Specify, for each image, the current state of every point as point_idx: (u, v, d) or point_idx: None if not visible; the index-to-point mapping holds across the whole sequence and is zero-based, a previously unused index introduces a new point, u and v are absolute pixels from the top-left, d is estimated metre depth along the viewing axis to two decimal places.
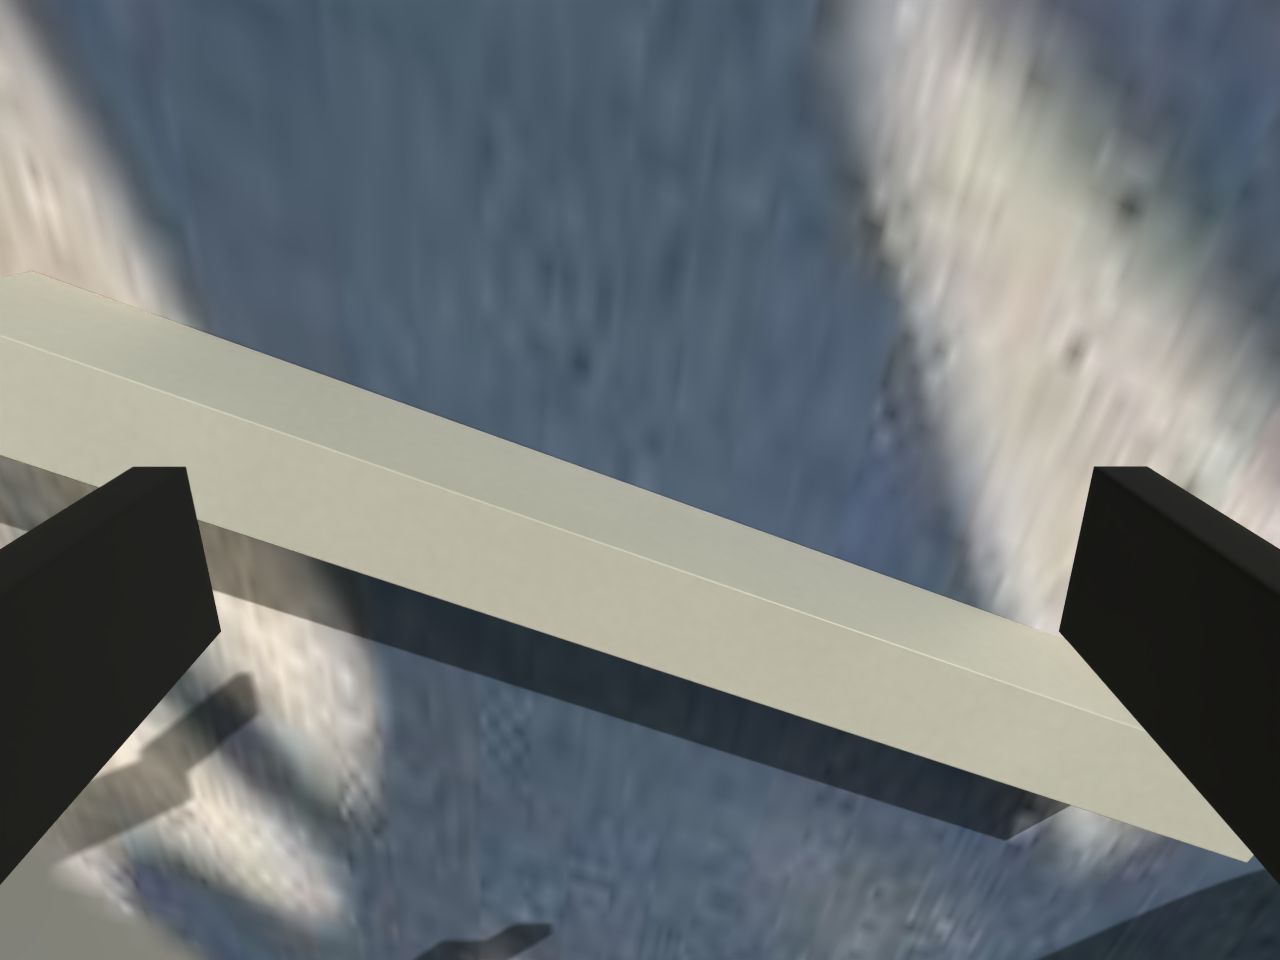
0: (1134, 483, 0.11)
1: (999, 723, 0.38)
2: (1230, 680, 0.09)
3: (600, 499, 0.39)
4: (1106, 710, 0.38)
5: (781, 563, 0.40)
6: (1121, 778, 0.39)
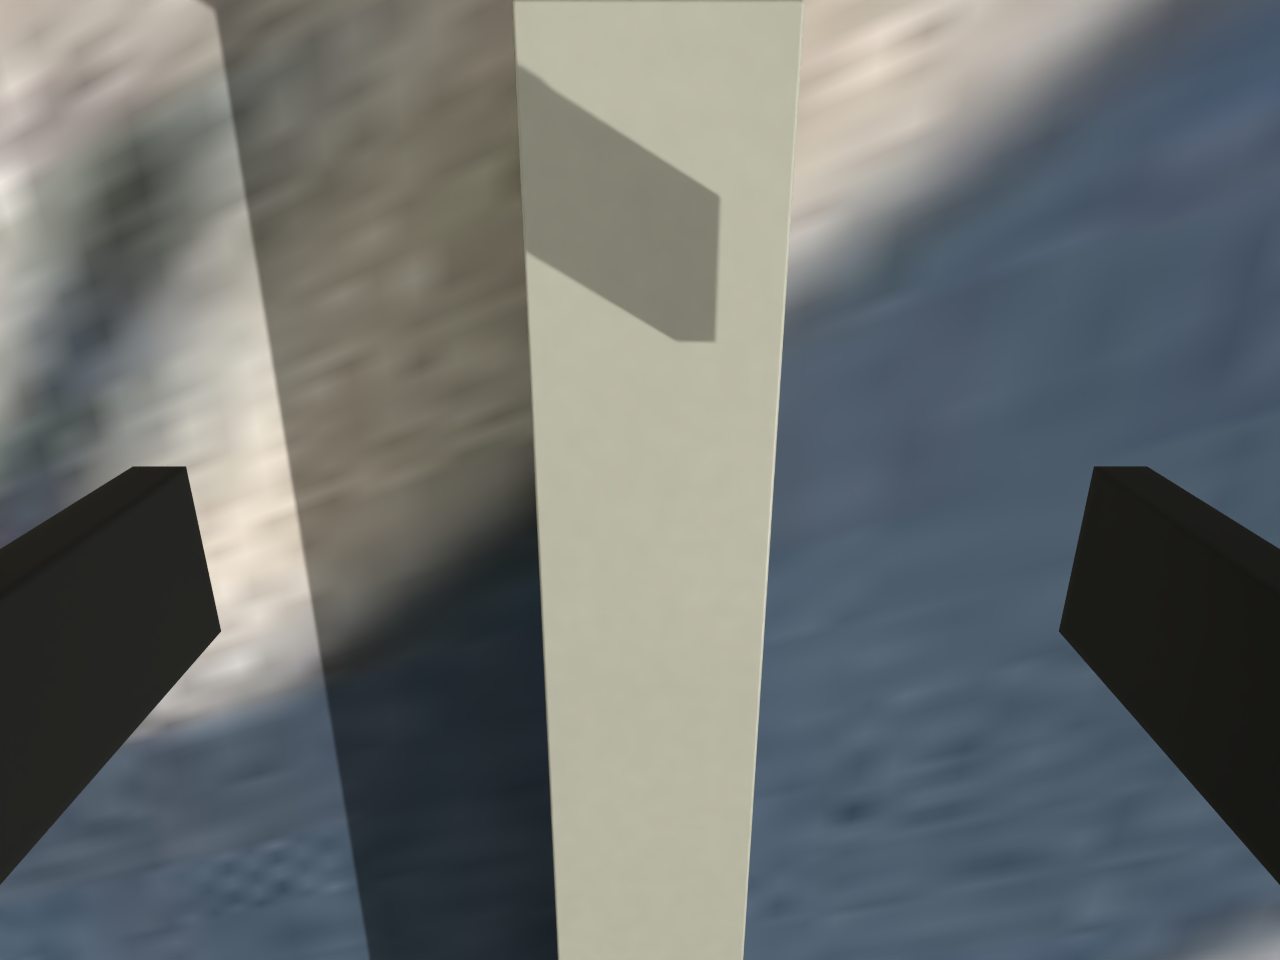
0: (1134, 483, 0.11)
1: None
2: (1231, 680, 0.09)
3: None
4: None
5: None
6: None
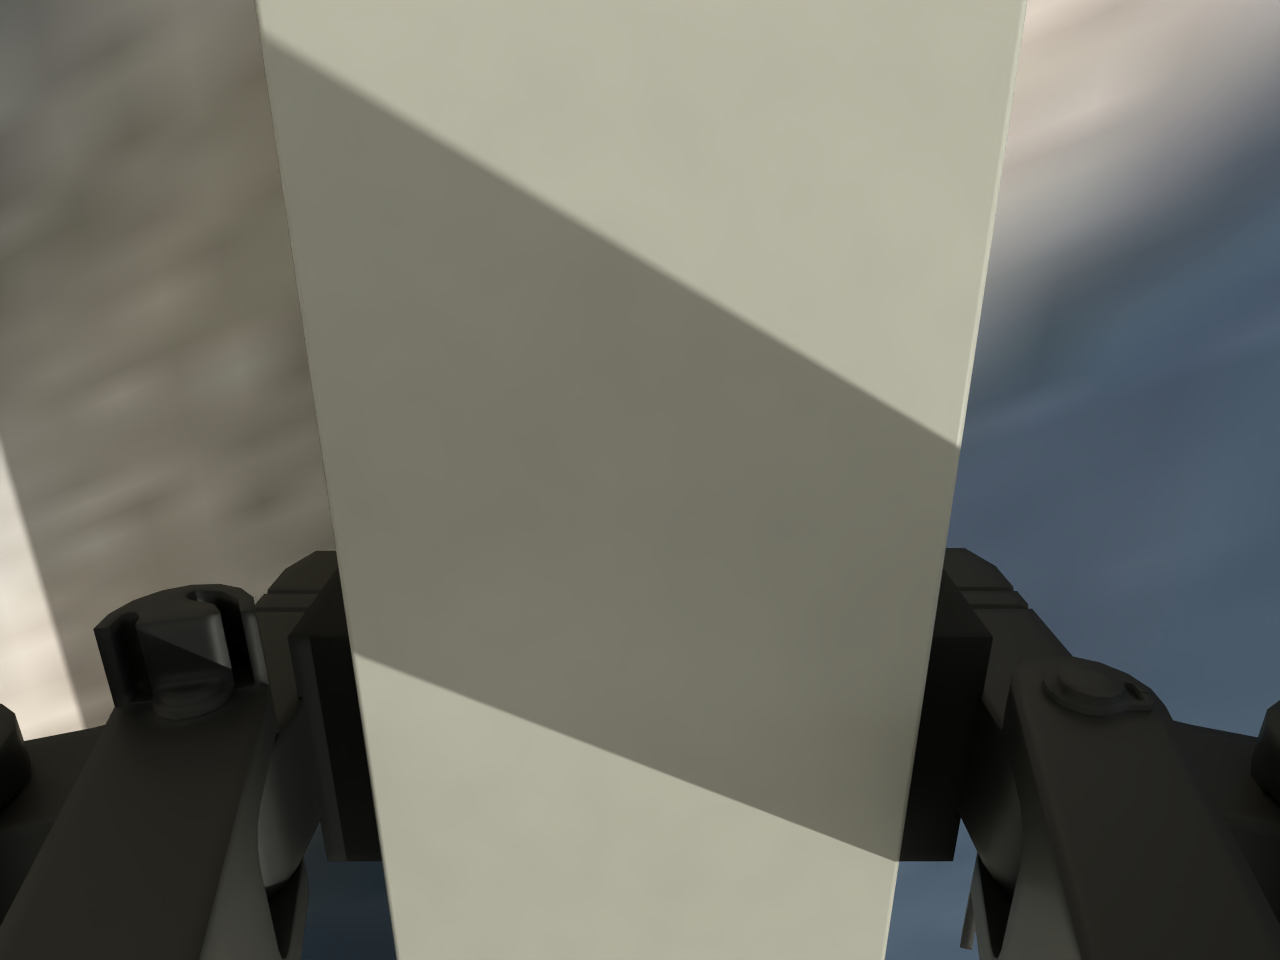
0: None
1: None
2: None
3: None
4: None
5: None
6: None
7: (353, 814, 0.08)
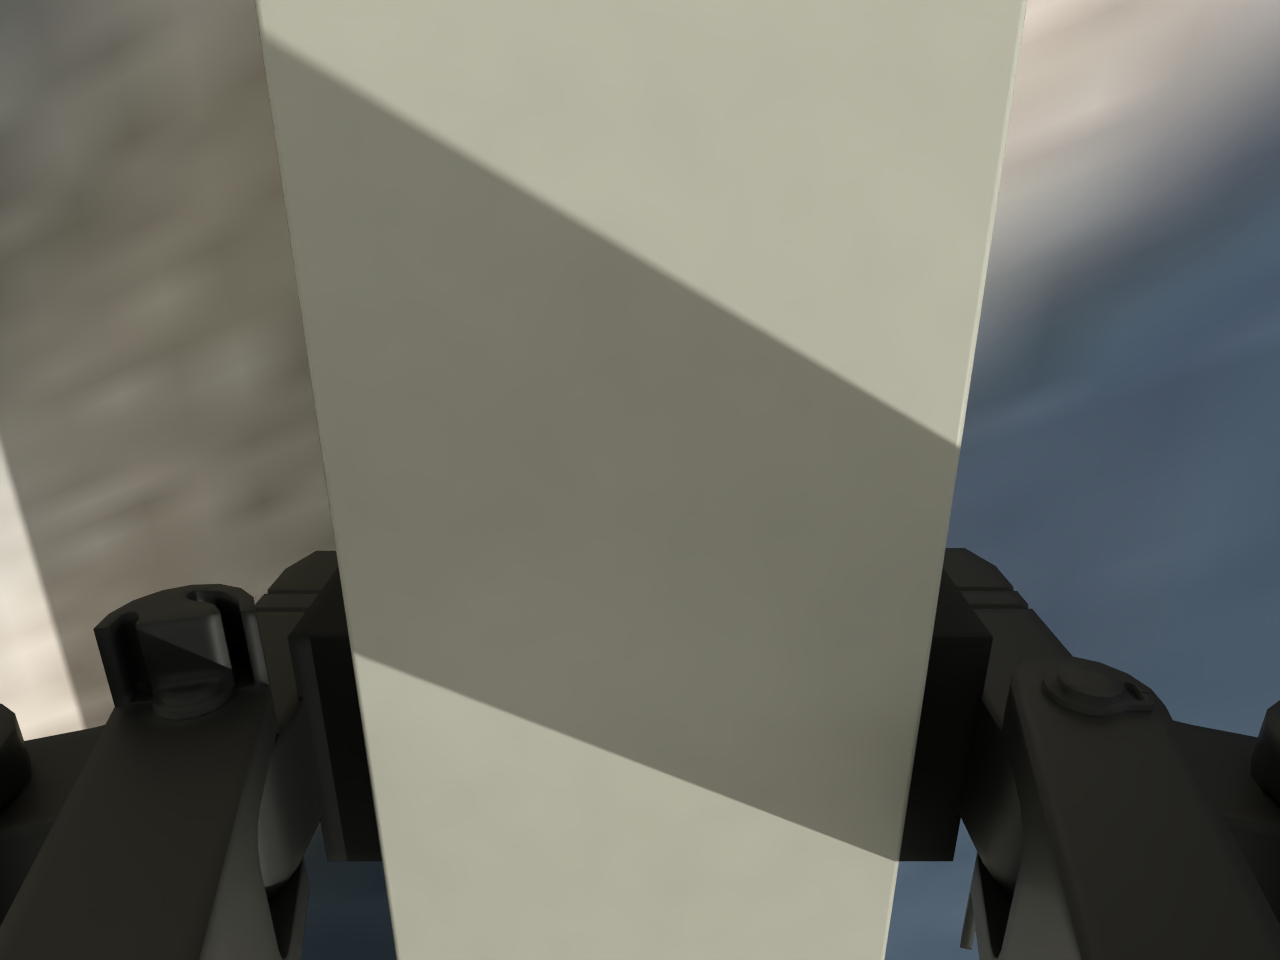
0: None
1: None
2: None
3: None
4: None
5: None
6: None
7: (353, 814, 0.08)
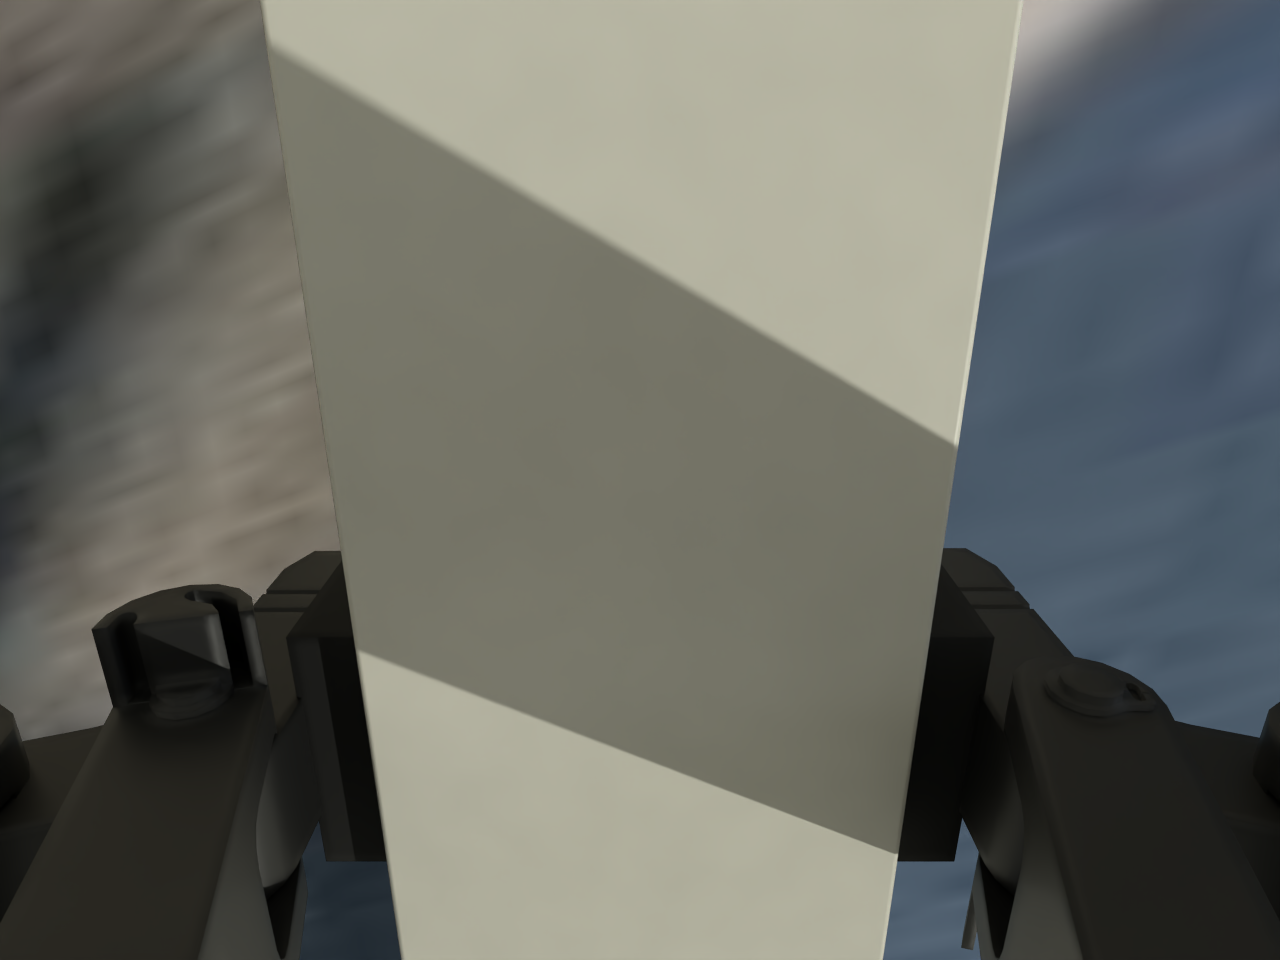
0: None
1: None
2: None
3: None
4: None
5: None
6: None
7: (352, 814, 0.08)
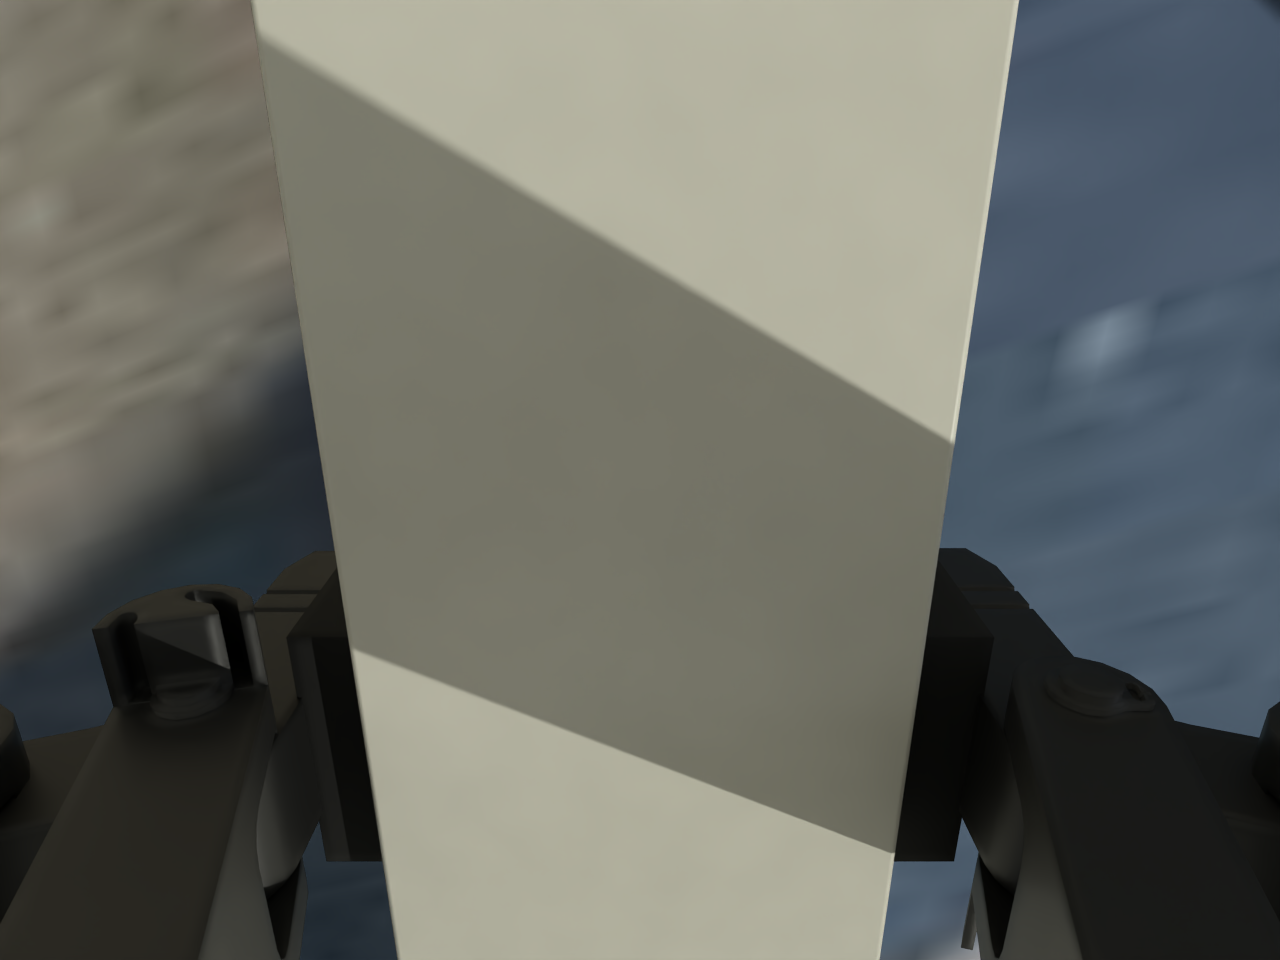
0: None
1: None
2: None
3: None
4: None
5: None
6: None
7: (352, 814, 0.08)
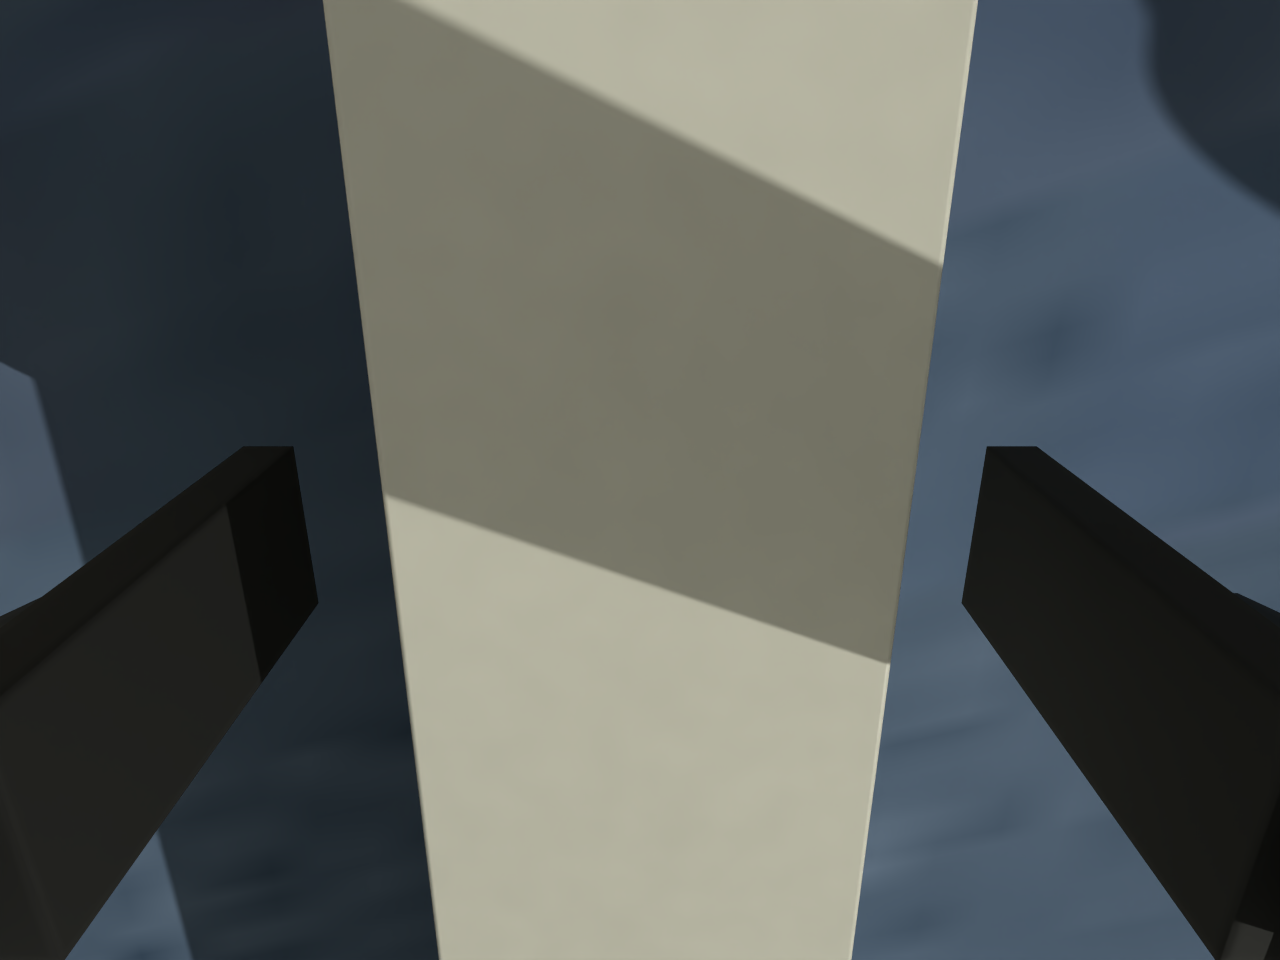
0: (1019, 461, 0.12)
1: None
2: (1082, 637, 0.10)
3: None
4: None
5: None
6: None
7: None
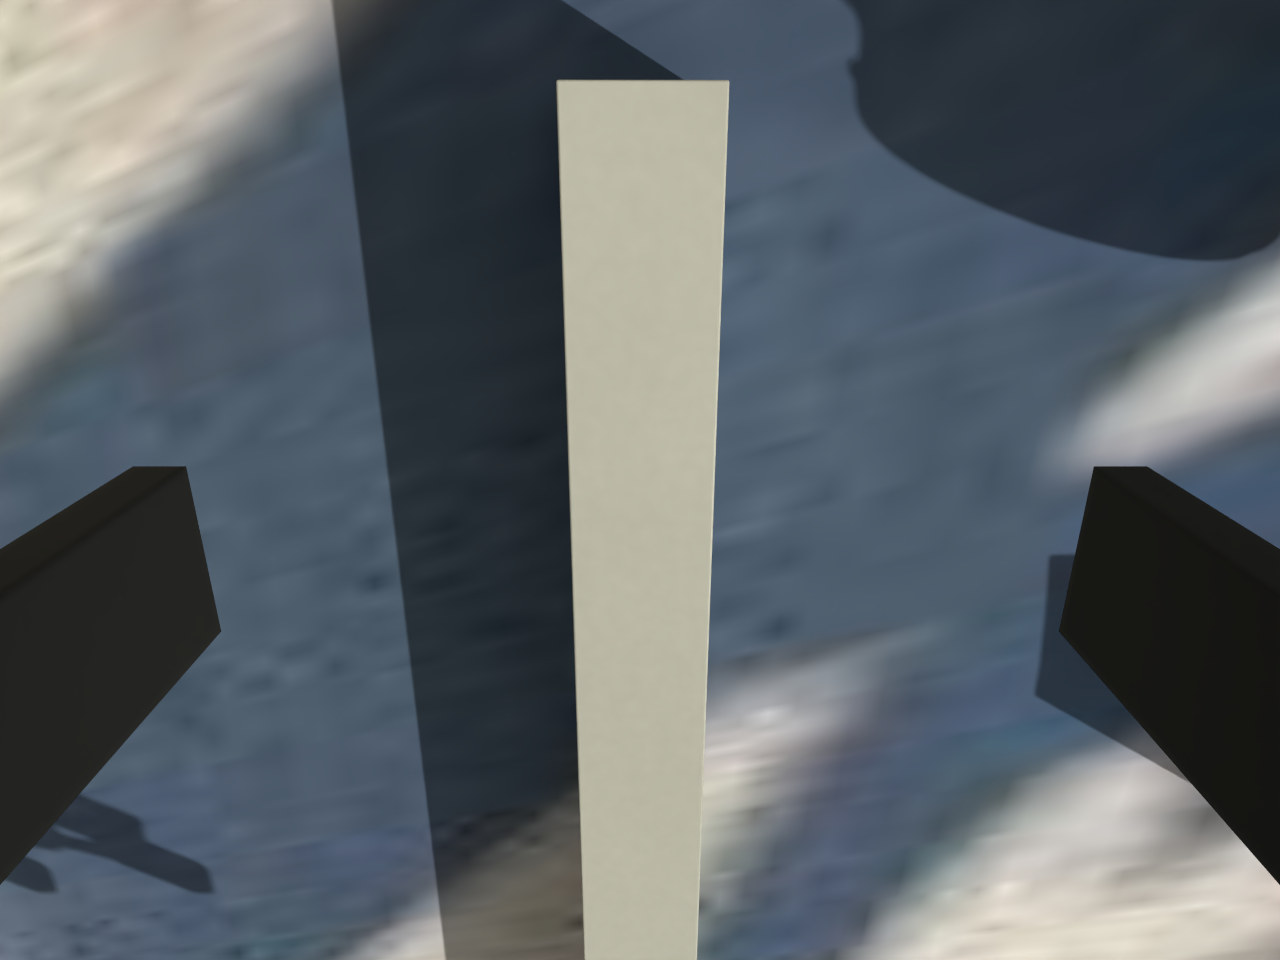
0: (1134, 483, 0.11)
1: None
2: (1230, 680, 0.09)
3: None
4: None
5: None
6: None
7: None
